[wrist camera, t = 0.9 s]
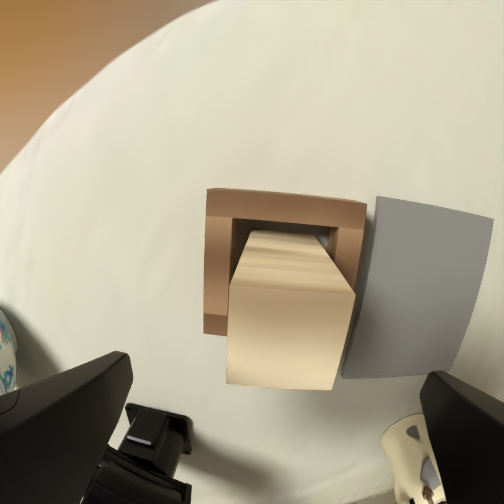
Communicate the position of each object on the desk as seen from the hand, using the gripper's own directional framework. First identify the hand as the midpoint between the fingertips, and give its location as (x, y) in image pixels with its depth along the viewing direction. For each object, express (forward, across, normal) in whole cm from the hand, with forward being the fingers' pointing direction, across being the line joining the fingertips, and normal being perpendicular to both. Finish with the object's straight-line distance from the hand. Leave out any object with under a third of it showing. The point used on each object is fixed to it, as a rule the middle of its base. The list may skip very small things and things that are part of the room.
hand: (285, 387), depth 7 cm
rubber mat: (+12, -12, +2) cm, 17 cm away
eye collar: (+12, 0, 0) cm, 12 cm away
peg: (+12, 0, 0) cm, 12 cm away
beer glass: (+12, -16, +18) cm, 27 cm away
